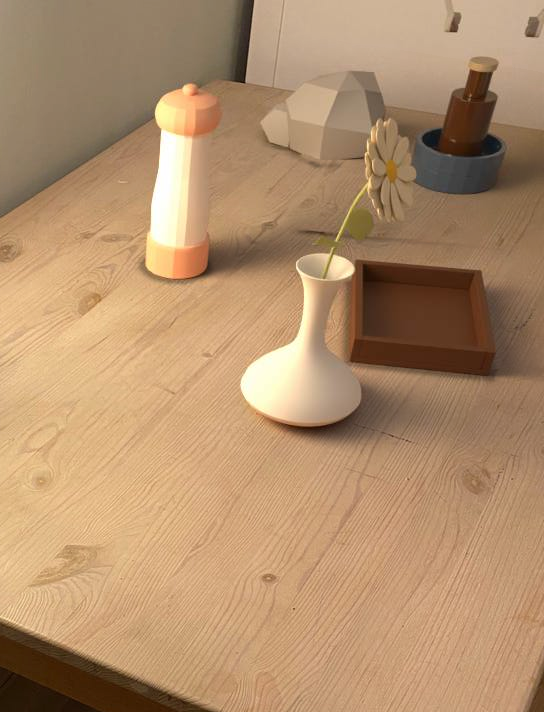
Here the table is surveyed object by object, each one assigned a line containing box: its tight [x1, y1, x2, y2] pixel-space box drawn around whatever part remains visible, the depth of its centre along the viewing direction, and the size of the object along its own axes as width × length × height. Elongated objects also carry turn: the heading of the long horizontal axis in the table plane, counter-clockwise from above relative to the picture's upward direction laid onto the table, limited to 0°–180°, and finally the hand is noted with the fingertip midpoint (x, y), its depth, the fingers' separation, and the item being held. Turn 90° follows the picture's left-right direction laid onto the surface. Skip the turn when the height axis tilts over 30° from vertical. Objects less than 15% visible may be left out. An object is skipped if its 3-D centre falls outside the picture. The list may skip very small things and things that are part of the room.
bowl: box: [410, 126, 508, 195], centre depth 125 cm, size 11×11×5 cm
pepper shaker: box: [145, 83, 223, 280], centre depth 104 cm, size 7×7×19 cm
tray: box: [348, 259, 497, 376], centre depth 100 cm, size 14×18×3 cm
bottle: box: [436, 56, 500, 157], centre depth 121 cm, size 6×6×14 cm
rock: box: [259, 70, 387, 161], centre depth 134 cm, size 18×20×10 cm
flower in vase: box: [240, 117, 416, 427], centre depth 83 cm, size 13×11×25 cm
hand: (490, 33), depth 114 cm, fingers open, 8 cm apart
